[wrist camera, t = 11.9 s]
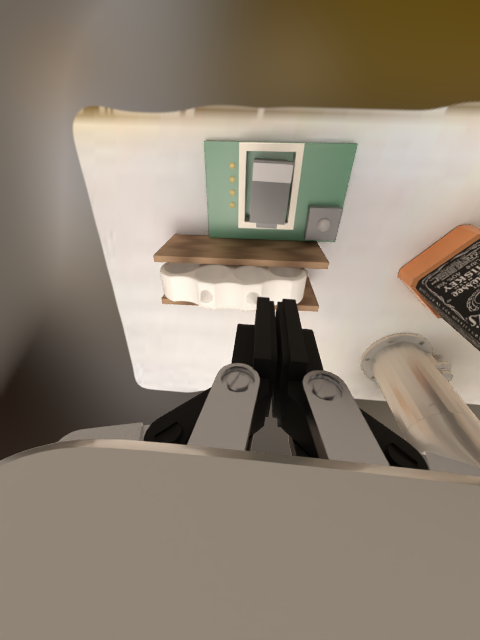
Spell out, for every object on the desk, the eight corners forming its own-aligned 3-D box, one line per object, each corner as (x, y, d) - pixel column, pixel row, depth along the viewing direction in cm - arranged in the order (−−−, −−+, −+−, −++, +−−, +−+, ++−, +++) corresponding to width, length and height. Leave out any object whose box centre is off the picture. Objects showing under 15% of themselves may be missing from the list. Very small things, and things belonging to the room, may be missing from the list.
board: (354, 143, 30) (364, 143, 27) (332, 239, 36) (339, 247, 33) (205, 141, 30) (199, 140, 28) (210, 235, 37) (206, 242, 34)
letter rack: (315, 239, 36) (329, 262, 29) (307, 281, 40) (317, 311, 33) (174, 234, 37) (153, 255, 30) (180, 275, 41) (162, 303, 34)
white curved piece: (180, 243, 38) (143, 287, 26) (298, 247, 37) (315, 294, 25) (183, 264, 40) (149, 313, 28) (295, 268, 39) (309, 321, 27)
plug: (287, 160, 30) (293, 162, 24) (280, 217, 34) (283, 231, 28) (255, 157, 30) (253, 160, 25) (250, 215, 34) (248, 228, 28)
